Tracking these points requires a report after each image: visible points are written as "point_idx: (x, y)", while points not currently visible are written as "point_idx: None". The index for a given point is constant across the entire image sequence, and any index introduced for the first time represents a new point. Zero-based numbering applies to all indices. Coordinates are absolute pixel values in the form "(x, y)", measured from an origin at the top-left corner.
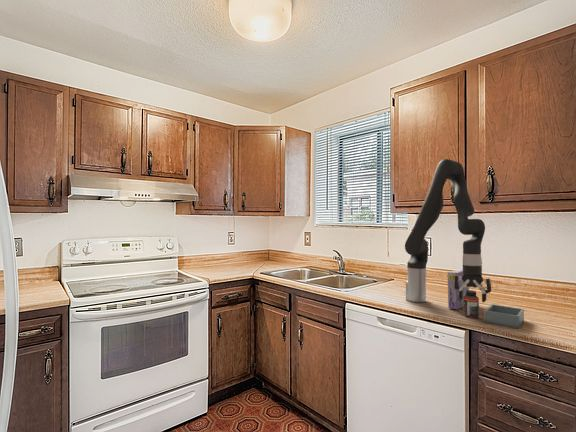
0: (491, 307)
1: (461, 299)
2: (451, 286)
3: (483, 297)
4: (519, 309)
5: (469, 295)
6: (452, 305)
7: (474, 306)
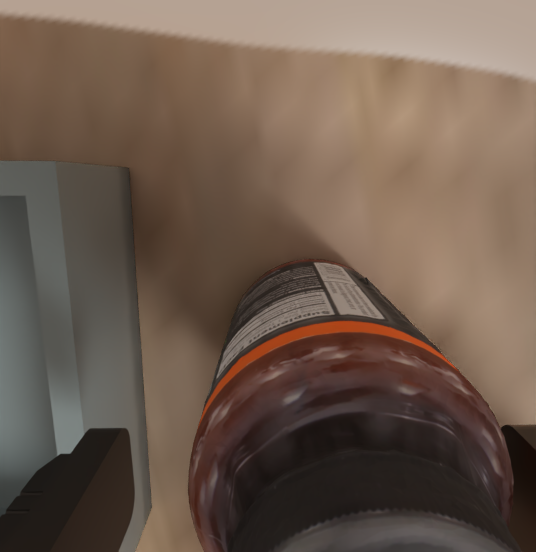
0: None
1: None
2: None
3: (46, 495)
4: None
5: (384, 437)
6: None
7: (254, 315)
